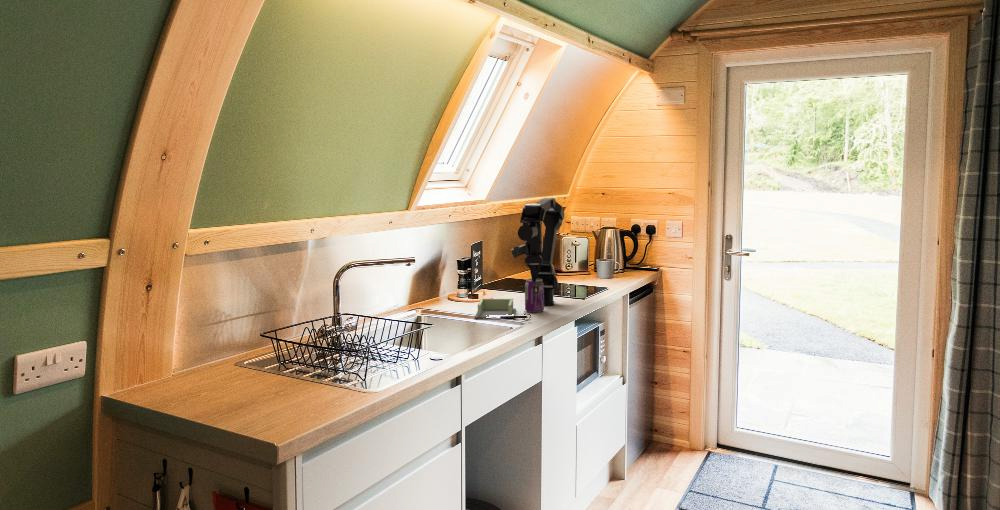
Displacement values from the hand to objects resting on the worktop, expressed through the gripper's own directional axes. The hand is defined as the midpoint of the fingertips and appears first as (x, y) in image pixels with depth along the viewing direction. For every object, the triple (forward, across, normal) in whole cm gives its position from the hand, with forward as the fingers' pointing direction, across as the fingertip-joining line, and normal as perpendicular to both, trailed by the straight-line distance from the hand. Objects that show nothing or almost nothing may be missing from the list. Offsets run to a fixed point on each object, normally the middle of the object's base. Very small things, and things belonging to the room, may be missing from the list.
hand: (534, 279), depth 289 cm
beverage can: (+12, 0, 0) cm, 12 cm away
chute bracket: (+12, +6, -14) cm, 19 cm away
